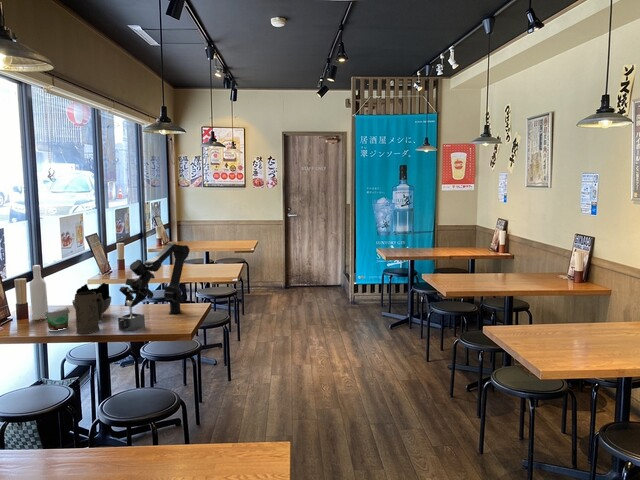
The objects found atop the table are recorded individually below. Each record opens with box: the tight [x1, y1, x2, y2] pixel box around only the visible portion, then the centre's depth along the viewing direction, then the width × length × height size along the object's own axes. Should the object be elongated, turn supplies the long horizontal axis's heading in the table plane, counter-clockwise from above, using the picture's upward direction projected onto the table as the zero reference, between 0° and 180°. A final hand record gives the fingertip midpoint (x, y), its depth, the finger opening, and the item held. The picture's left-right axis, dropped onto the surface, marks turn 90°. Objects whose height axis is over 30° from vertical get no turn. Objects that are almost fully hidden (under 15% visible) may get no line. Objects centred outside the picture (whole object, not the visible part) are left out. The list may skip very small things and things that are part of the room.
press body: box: [117, 312, 146, 332], centre depth 265 cm, size 12×9×6 cm
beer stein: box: [74, 292, 104, 335], centre depth 264 cm, size 15×11×20 cm
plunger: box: [125, 299, 134, 318], centre depth 265 cm, size 7×7×10 cm
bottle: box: [29, 264, 49, 319], centre depth 287 cm, size 8×8×30 cm
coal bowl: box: [71, 282, 112, 315], centre depth 290 cm, size 20×20×19 cm
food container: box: [45, 306, 70, 330], centre depth 267 cm, size 12×6×10 cm, turn 148°
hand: (128, 306), depth 264 cm, fingers closed on plunger, 4 cm apart
